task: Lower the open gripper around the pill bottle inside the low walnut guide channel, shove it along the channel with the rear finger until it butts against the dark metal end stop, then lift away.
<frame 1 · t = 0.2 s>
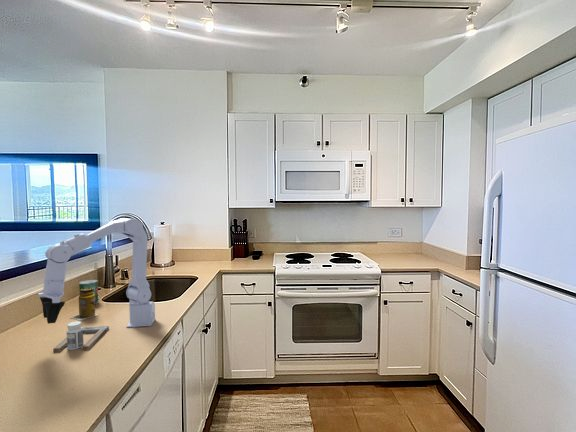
hand: (49, 320, 111), 10 cm above the worktop, tool pointing down, fingers open, 7 cm apart
end stop: (91, 331, 127), on the worktop
pill bottle: (75, 347, 114), on the worktop
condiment: (85, 316, 144), on the worktop
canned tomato: (89, 303, 161), on the worktop
guide channel: (81, 341, 118), on the worktop
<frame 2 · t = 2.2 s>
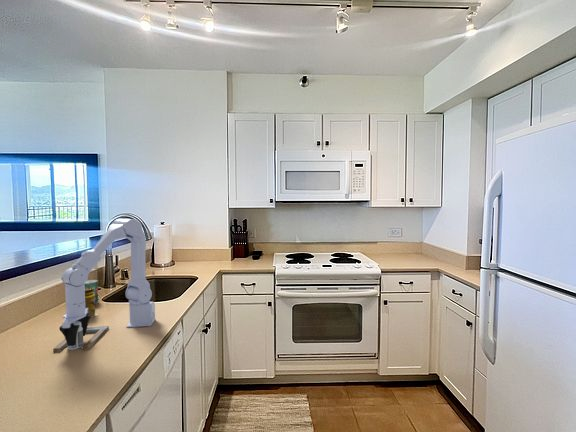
hand: (76, 340, 115), 2 cm above the worktop, tool pointing down, fingers open, 7 cm apart
pill bottle: (75, 347, 114), on the worktop, touching gripper
everything else where it was.
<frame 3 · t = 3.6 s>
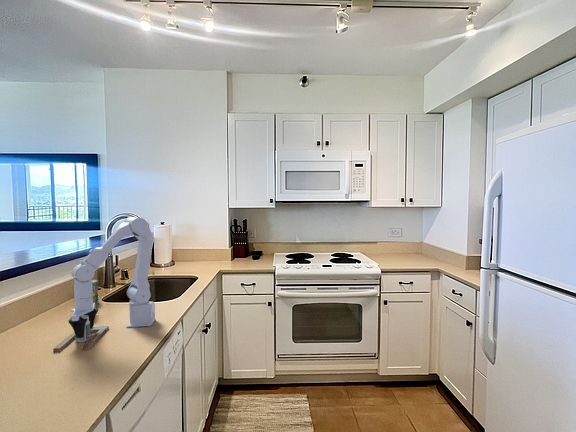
hand: (84, 333, 121), 2 cm above the worktop, tool pointing down, fingers open, 7 cm apart
pill bottle: (83, 339, 120), on the worktop, touching gripper
everything else where it was.
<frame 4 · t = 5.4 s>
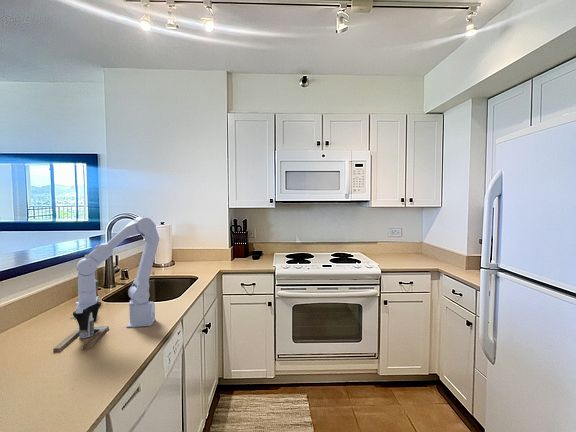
hand: (88, 325, 124), 3 cm above the worktop, tool pointing down, fingers open, 7 cm apart
pill bottle: (86, 336, 123), on the worktop, touching gripper
everything else where it was.
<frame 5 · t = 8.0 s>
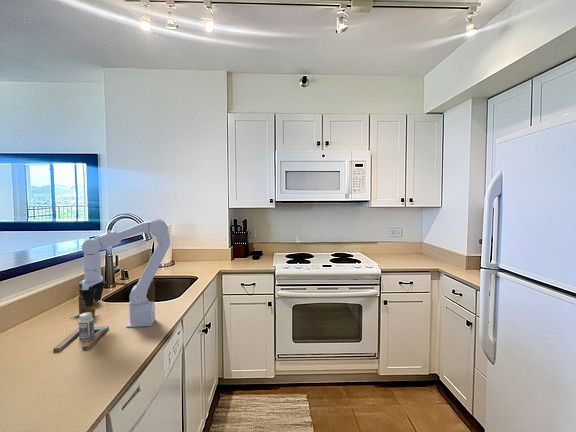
hand: (93, 303, 129), 10 cm above the worktop, tool pointing down, fingers open, 7 cm apart
pill bottle: (86, 336, 123), on the worktop
everything else where it was.
at the end: pill bottle 0.2 cm from the target spot, on the worktop; pill bottle tilted 0°; the gripper is holding nothing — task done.
